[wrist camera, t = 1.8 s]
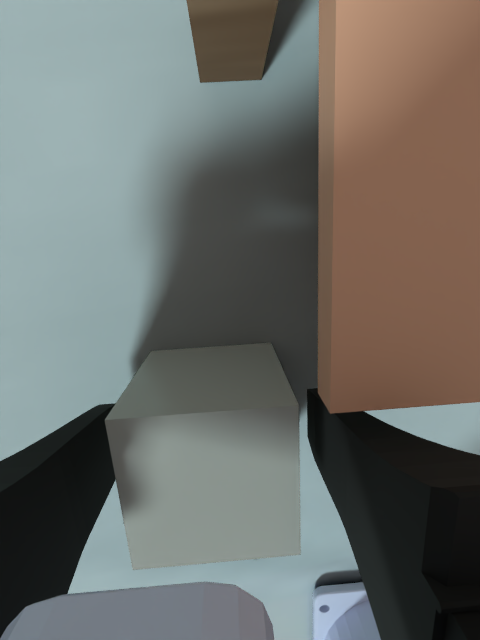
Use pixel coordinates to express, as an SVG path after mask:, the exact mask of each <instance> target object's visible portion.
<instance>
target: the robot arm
mask: <svg viewBox="0 0 480 640" xmlns="http://www.w3.org/2000/svg"><path fill="white" fill-rule="evenodd" d="M115 404H116V403H115ZM115 404H102V405H98V406H96V407H94V408H92V409H90V410H88V411H87V412H85V413H83V414H82V415H80V416H79V417H77V418H75V419H74V420H72V421H70V422H69V423H67V424H66V425H64V426H62V427H61V428H59V429H58V430H56V431H54V432H53V433H51V434H49V435H48V436H46V437H44V438H42V439H41V440H39V441H37V442H35V443H34V444H32V445H30V446H28V447H27V448H25V449H23V450H21V451H19V452H18V453H16V454H14V455H12V456H10V457H8V458H6V459H4V460H2V461H0V640H274V634H273V626H272V623H271V621H270V618H269V616H268V614H267V611H266V609H265V607H264V604H263V603H262V602H261V601H260V600H258V599H257V598H255V597H254V596H252V595H250V594H249V593H247V592H246V591H244V590H242V589H241V588H239V587H238V586H236V585H232V584H223V583H214V582H195V583H184V584H173V585H163V586H152V587H141V588H130V589H119V590H108V591H97V592H86V593H75V594H67V593H68V590H69V587H70V584H71V582H72V579H73V576H74V573H75V571H76V568H77V565H78V562H79V559H80V557H81V554H82V551H83V549H84V547H85V544H86V542H87V539H88V537H89V535H90V533H91V531H92V529H93V526H94V524H95V522H96V520H97V518H98V516H99V514H100V512H101V509H102V507H103V505H104V503H105V501H106V499H107V497H108V495H109V492H110V490H111V488H112V486H113V484H114V481H115V479H116V478H115V472H114V467H113V462H112V457H111V451H110V446H109V441H108V435H107V430H106V425H105V419H106V417H107V416H108V414H109V413H110V411H111V410H112V408H113V407H114V405H115ZM307 417H308V439H309V443H310V446H311V450H312V453H313V456H314V459H315V462H316V464H317V466H318V469H319V471H320V473H321V475H322V478H323V480H324V482H325V484H326V486H327V489H328V491H329V493H330V495H331V497H332V500H333V502H334V504H335V506H336V508H337V511H338V513H339V515H340V517H341V520H342V522H343V525H344V527H345V530H346V533H347V536H348V539H349V542H350V545H351V547H352V550H353V553H354V556H355V559H356V562H357V565H358V568H359V571H360V575H361V578H362V581H363V582H359V583H348V584H337V585H327V586H320V587H318V588H316V589H315V590H314V591H313V640H480V455H476V454H472V453H468V452H464V451H460V450H457V449H453V448H450V447H447V446H444V445H441V444H438V443H435V442H432V441H429V440H426V439H423V438H420V437H417V436H415V435H412V434H410V433H407V432H405V431H403V430H400V429H398V428H396V427H393V426H391V425H389V424H387V423H385V422H383V421H381V420H379V419H377V418H375V417H373V416H371V415H369V414H367V413H366V412H364V411H357V412H344V413H331V414H330V412H329V411H328V409H327V407H326V406H325V404H324V402H323V401H322V399H321V397H320V396H319V394H318V388H314V389H307Z"/></svg>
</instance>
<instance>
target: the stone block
mask: <svg viewBox="0 0 480 640" xmlns="http://www.w3.org/2000/svg"><path fill="white" fill-rule="evenodd" d="M105 425H106V430H107V435H108V441H109V446H110V451H111V457H112V462H113V467H114V472H115V478H116V483H117V488H118V494H119V499H120V504H121V510H122V515H123V520H124V526H125V531H126V536H127V541H128V547H129V552H130V557H131V563H132V568H133V570H138V569H149V568H160V567H172V566H183V565H194V564H205V563H216V562H227V561H238V560H249V559H260V558H271V557H282V556H293V555H301V541H300V458H299V404H298V402H297V400H296V398H295V395H294V393H293V391H292V389H291V386H290V384H289V382H288V380H287V377H286V375H285V373H284V371H283V369H282V366H281V364H280V362H279V360H278V357H277V355H276V353H275V351H274V348H273V346H272V344H271V343H257V344H243V345H229V346H214V347H200V348H185V349H171V350H156V351H151V352H150V353H149V355H148V356H147V358H146V359H145V361H144V362H143V364H142V365H141V367H140V368H139V370H138V371H137V373H136V374H135V376H134V377H133V379H132V380H131V382H130V383H129V385H128V386H127V388H126V389H125V390H124V392H123V393H122V395H121V396H120V398H119V399H118V401H117V402H116V404H115V405H114V407H113V408H112V410H111V411H110V413H109V414H108V416H107V417H106V419H105Z"/></svg>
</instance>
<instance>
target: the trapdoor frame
mask: <svg viewBox="0 0 480 640" xmlns="http://www.w3.org/2000/svg"><path fill="white" fill-rule="evenodd" d="M278 1H279V0H187V6H188V12H189V18H190V24H191V30H192V36H193V42H194V48H195V54H196V60H197V66H198V72H199V78H200V83H202V82H223V81H243V80H261V79H262V74H263V70H264V65H265V60H266V56H267V51H268V47H269V42H270V38H271V33H272V29H273V24H274V19H275V15H276V10H277V6H278Z"/></svg>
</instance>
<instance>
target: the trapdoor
mask: <svg viewBox="0 0 480 640" xmlns="http://www.w3.org/2000/svg"><path fill="white" fill-rule="evenodd" d="M318 394H319V396H320V397H321V399H322V401H323V402H324V404H325V406H326V407H327V409H328V411H329V412H330V414H331V413H344V412H357V411H370V410H382V409H395V408H408V407H421V406H434V405H447V404H460V403H473V402H480V0H319V174H318Z"/></svg>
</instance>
